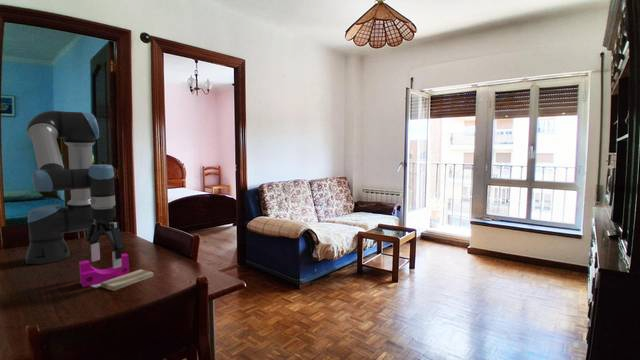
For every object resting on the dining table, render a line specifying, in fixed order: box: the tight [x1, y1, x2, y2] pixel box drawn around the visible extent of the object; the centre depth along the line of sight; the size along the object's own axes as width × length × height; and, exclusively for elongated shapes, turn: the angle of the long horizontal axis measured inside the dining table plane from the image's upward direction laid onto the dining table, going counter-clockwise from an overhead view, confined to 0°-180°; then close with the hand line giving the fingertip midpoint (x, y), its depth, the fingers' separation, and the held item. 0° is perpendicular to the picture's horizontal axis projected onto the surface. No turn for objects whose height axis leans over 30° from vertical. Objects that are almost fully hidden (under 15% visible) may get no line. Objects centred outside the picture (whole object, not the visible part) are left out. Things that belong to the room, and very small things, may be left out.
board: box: [100, 269, 154, 291], centre depth 123 cm, size 8×15×2 cm, turn 152°
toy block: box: [78, 252, 130, 288], centre depth 124 cm, size 15×6×8 cm, turn 131°
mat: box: [79, 281, 101, 289], centre depth 126 cm, size 10×13×1 cm
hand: (106, 263), depth 125 cm, fingers open, 13 cm apart
